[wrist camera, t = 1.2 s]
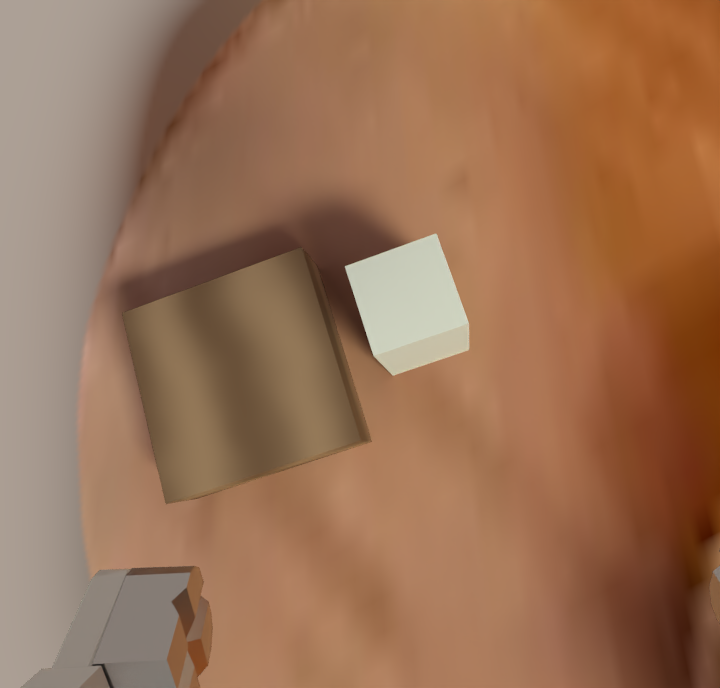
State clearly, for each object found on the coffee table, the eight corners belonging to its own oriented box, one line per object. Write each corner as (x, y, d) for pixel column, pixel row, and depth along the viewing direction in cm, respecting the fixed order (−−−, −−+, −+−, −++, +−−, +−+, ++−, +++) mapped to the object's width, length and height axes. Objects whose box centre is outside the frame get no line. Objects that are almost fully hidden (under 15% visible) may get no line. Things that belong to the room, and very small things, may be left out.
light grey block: (443, 276, 40) (436, 233, 32) (469, 349, 38) (468, 323, 31) (369, 302, 40) (344, 266, 32) (392, 375, 39) (373, 356, 31)
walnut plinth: (317, 266, 41) (301, 247, 37) (371, 441, 38) (360, 440, 35) (153, 325, 42) (121, 313, 38) (195, 498, 40) (165, 503, 36)
